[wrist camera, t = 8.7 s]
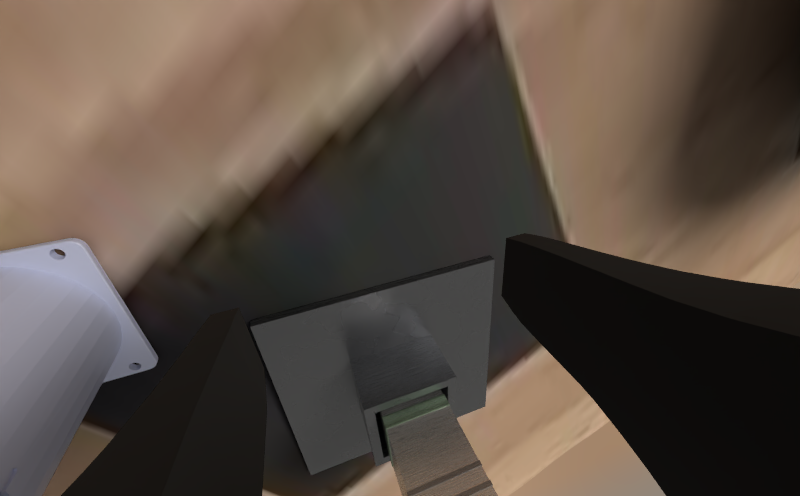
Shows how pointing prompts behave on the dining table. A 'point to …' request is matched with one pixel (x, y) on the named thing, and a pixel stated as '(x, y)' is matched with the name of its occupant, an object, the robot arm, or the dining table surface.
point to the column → (432, 450)
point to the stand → (378, 357)
